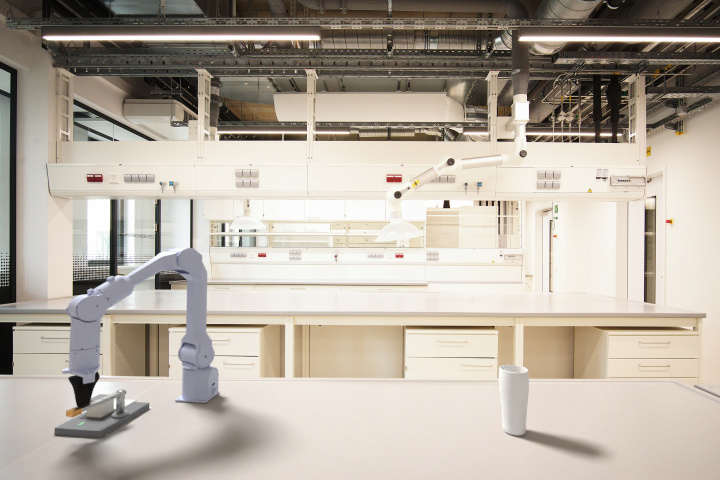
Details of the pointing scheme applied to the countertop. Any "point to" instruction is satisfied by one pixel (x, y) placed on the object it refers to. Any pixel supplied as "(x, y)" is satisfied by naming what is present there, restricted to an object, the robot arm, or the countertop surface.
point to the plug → (100, 407)
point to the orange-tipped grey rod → (119, 403)
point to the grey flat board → (101, 421)
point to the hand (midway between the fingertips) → (83, 406)
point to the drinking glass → (514, 398)
